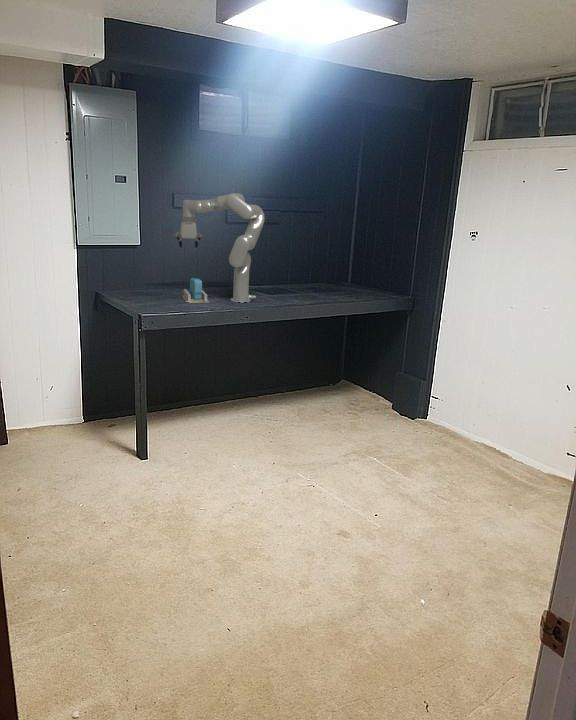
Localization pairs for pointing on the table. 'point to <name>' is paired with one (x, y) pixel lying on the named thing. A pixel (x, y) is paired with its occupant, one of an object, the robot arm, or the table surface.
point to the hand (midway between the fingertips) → (188, 247)
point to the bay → (188, 299)
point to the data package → (196, 288)
